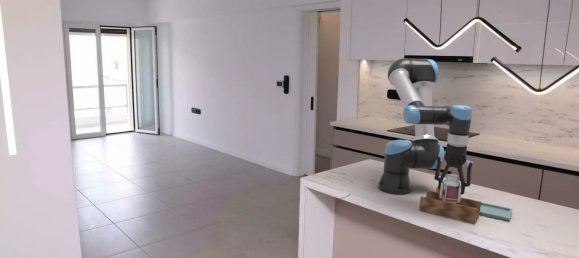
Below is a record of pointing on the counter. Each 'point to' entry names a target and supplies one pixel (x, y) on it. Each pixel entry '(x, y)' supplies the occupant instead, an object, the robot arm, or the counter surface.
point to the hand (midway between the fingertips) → (449, 199)
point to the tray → (495, 211)
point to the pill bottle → (451, 188)
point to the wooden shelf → (450, 207)
